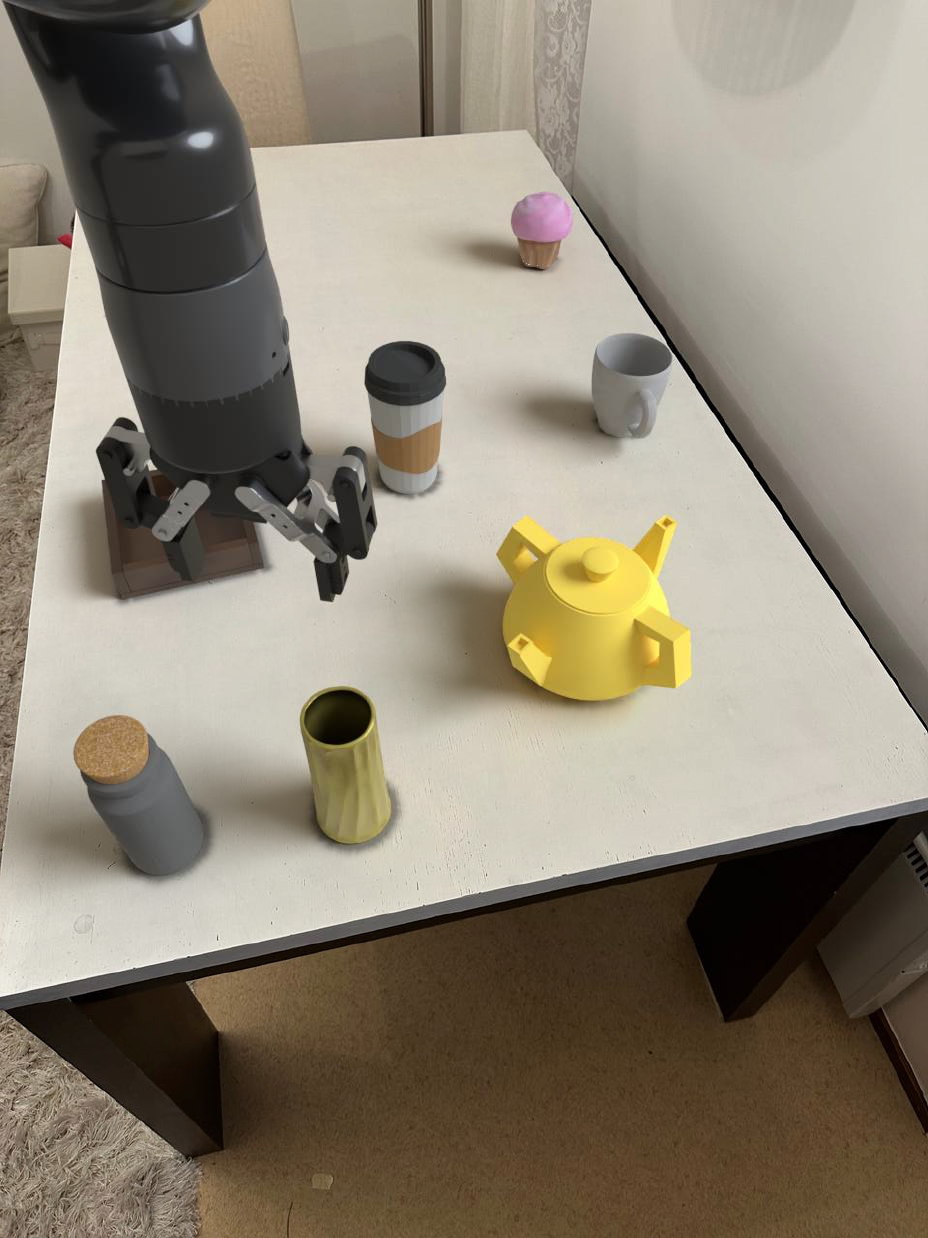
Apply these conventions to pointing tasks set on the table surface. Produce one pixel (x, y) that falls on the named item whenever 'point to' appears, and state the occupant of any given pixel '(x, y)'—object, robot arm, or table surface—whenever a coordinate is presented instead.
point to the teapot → (592, 613)
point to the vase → (345, 764)
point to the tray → (145, 561)
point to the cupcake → (541, 227)
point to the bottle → (138, 795)
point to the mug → (629, 383)
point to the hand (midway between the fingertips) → (263, 581)
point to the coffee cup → (406, 413)
